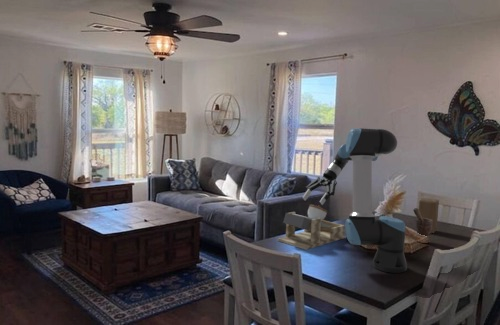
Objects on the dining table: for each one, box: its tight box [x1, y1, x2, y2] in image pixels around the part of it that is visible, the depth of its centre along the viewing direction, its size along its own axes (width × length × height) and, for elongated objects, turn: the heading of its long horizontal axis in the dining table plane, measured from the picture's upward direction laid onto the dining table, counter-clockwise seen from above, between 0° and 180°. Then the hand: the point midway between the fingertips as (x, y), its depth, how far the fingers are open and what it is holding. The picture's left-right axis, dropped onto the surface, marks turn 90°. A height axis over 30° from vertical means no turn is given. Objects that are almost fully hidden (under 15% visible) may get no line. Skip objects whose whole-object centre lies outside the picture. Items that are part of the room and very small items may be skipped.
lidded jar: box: [307, 204, 328, 221], centre depth 233 cm, size 11×11×9 cm
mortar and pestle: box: [413, 207, 433, 242], centre depth 231 cm, size 12×9×20 cm
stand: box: [277, 211, 346, 251], centre depth 232 cm, size 35×20×15 cm, turn 133°
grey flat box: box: [282, 212, 330, 230], centre depth 228 cm, size 24×16×7 cm, turn 133°
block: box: [418, 198, 440, 234], centre depth 257 cm, size 10×10×20 cm
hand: (312, 201), depth 230 cm, fingers open, 13 cm apart
